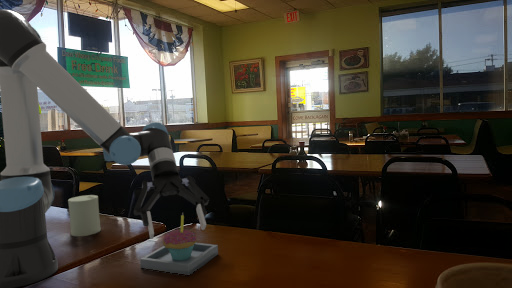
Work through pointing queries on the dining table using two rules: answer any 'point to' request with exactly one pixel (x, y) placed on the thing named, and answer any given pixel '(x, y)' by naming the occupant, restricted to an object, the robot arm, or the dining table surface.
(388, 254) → the dining table surface
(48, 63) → the robot arm
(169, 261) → the tray
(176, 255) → the cupcake
